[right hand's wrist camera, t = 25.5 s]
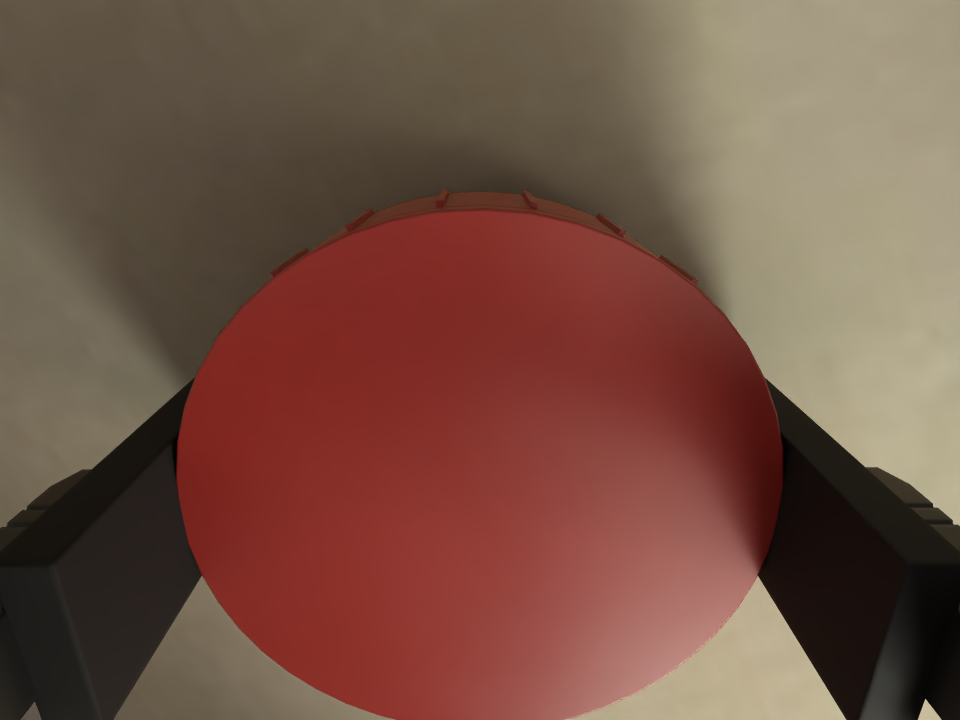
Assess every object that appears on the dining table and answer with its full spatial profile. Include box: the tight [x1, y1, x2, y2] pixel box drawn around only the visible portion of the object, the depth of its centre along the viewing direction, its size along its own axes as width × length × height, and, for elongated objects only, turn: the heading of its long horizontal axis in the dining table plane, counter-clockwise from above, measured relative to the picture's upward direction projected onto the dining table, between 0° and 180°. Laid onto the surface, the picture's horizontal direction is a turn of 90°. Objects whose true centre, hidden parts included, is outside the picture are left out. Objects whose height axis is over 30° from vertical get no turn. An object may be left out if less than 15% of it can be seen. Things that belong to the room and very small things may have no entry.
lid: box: [176, 189, 783, 720], centre depth 11 cm, size 10×10×2 cm
